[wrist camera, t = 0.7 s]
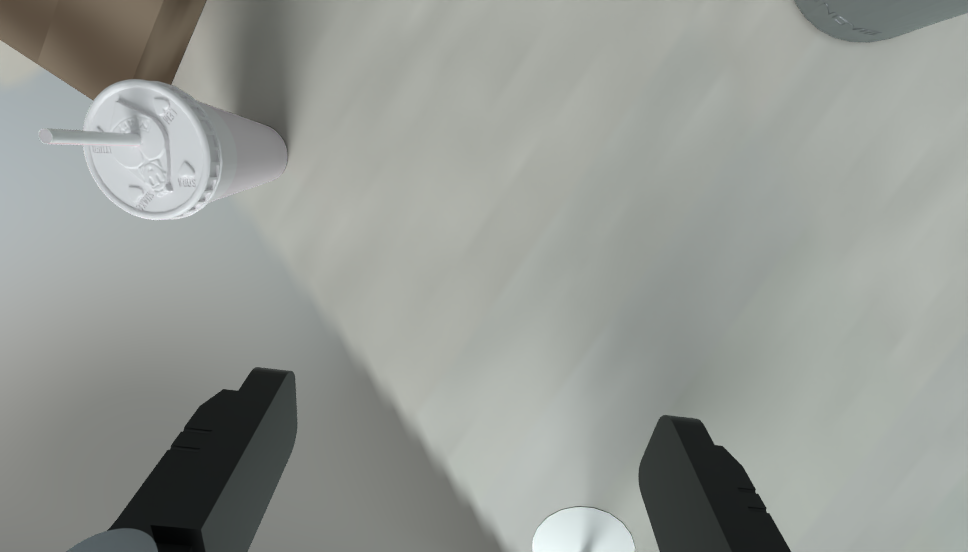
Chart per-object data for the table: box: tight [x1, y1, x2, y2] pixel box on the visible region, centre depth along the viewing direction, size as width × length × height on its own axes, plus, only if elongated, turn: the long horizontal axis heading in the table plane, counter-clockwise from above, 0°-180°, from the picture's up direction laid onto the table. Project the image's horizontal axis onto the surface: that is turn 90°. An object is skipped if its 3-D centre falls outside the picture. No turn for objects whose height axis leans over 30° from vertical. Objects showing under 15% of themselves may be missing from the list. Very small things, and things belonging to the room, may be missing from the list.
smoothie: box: [39, 79, 288, 220], centre depth 25 cm, size 6×6×14 cm
